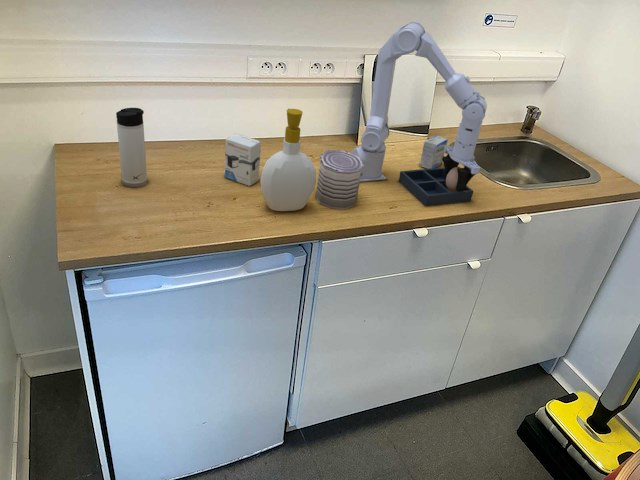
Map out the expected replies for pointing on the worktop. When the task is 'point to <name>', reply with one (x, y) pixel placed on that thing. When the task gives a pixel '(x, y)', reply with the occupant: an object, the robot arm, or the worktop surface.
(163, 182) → the worktop surface
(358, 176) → the can
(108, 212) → the worktop surface
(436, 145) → the medicine box
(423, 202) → the divided tray
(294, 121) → the soap bottle
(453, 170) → the egg
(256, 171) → the ink box
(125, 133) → the travel mug
